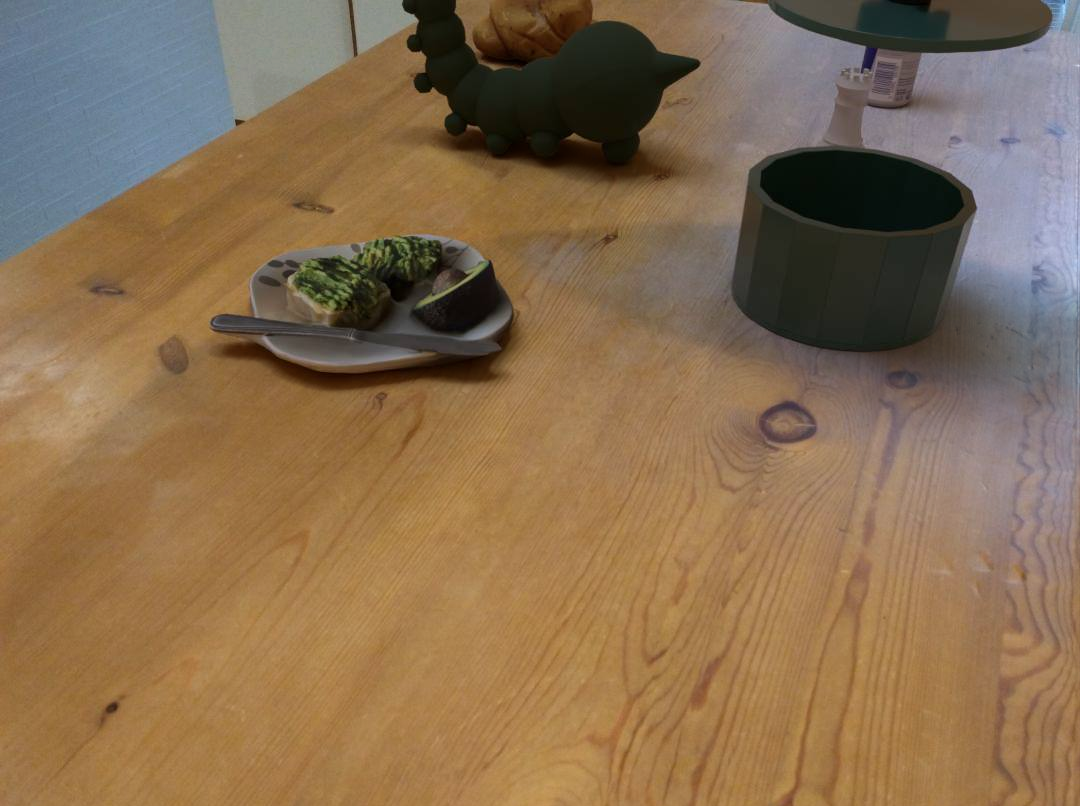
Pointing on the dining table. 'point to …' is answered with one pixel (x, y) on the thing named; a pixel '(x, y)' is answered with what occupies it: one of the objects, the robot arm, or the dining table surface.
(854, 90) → the rook chess piece
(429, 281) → the avocado toast plate
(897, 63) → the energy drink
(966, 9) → the lid
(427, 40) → the toy figurine
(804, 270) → the pot
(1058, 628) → the dining table surface
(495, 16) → the bread roll
